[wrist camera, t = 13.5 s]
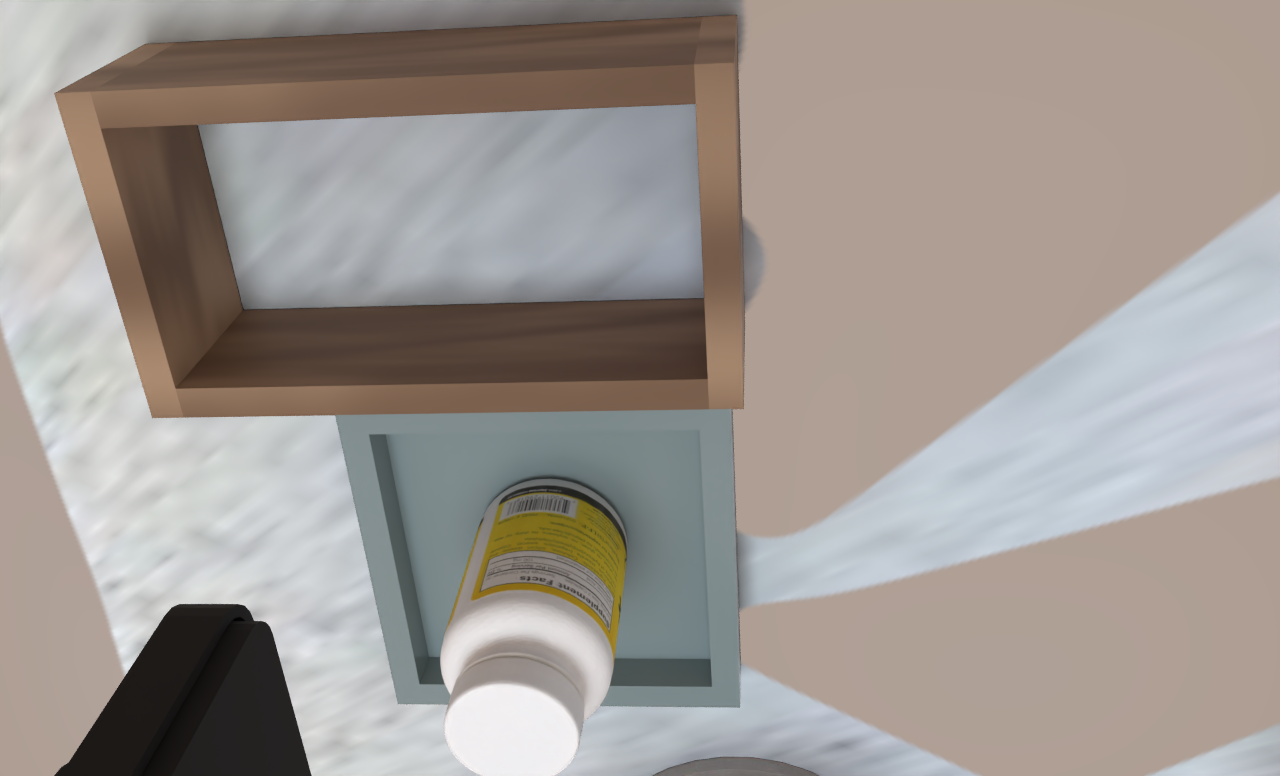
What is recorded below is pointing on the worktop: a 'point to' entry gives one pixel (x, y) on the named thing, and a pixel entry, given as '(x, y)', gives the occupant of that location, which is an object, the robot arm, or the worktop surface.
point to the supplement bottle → (533, 629)
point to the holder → (402, 335)
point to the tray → (586, 455)
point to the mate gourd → (735, 768)
